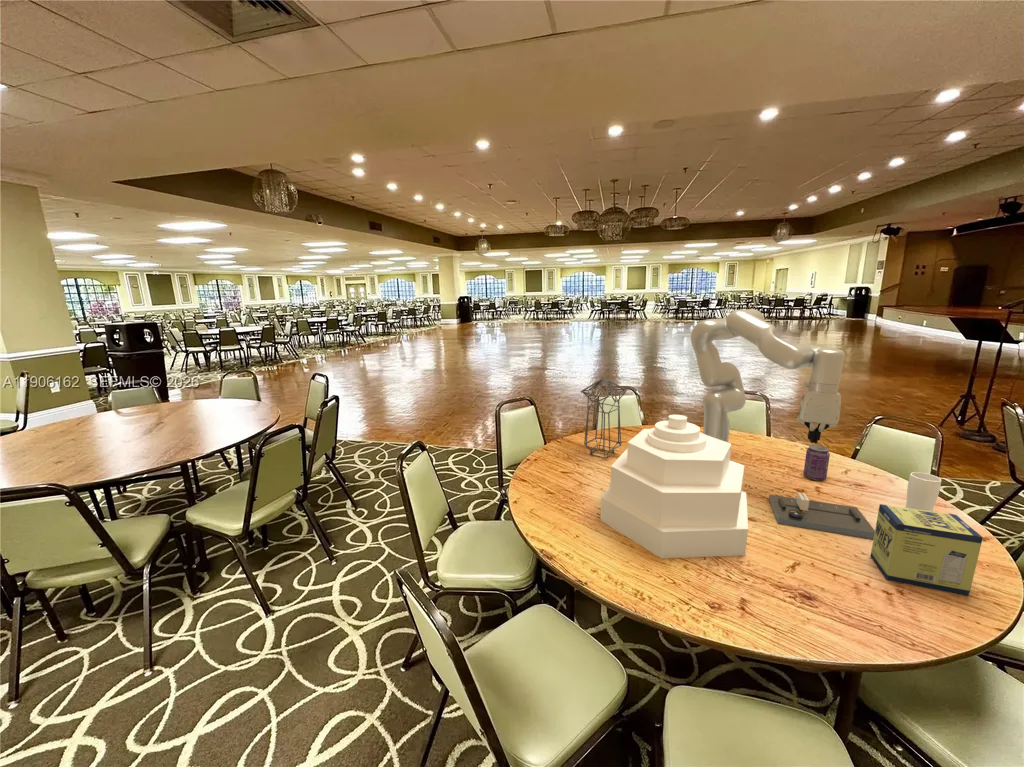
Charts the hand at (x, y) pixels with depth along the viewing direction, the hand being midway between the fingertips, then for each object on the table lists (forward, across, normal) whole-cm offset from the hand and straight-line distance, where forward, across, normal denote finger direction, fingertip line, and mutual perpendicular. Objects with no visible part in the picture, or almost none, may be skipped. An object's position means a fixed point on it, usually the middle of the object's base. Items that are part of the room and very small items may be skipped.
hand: (812, 441), depth 134 cm
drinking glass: (+21, +29, -2) cm, 36 cm away
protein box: (+20, +18, -34) cm, 43 cm away
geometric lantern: (+24, -71, +17) cm, 77 cm away
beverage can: (+22, +8, +23) cm, 33 cm away
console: (+21, +2, -11) cm, 24 cm away
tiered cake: (+22, -40, -28) cm, 53 cm away
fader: (+19, -2, -10) cm, 21 cm away
